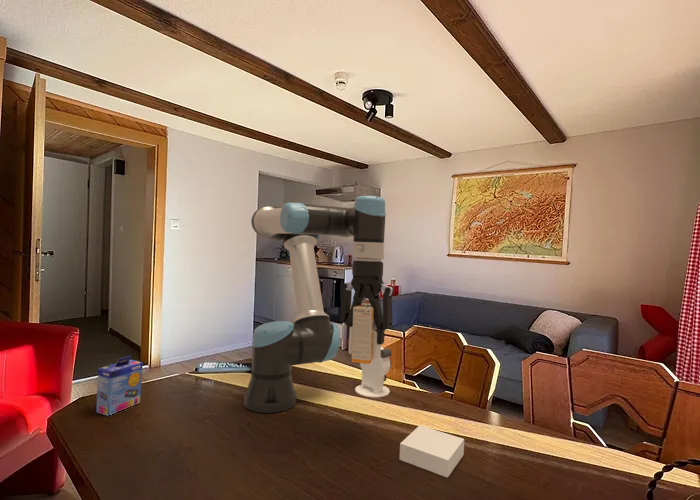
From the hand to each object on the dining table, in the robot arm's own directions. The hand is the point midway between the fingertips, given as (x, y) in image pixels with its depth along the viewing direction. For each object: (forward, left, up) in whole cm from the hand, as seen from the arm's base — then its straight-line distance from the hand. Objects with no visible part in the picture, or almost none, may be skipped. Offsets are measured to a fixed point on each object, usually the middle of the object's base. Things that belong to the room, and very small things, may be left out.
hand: (364, 354), depth 92 cm
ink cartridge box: (-63, -25, -21) cm, 71 cm away
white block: (+17, +3, -21) cm, 27 cm away
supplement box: (0, 0, -1) cm, 1 cm away
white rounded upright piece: (-13, +30, -21) cm, 39 cm away
